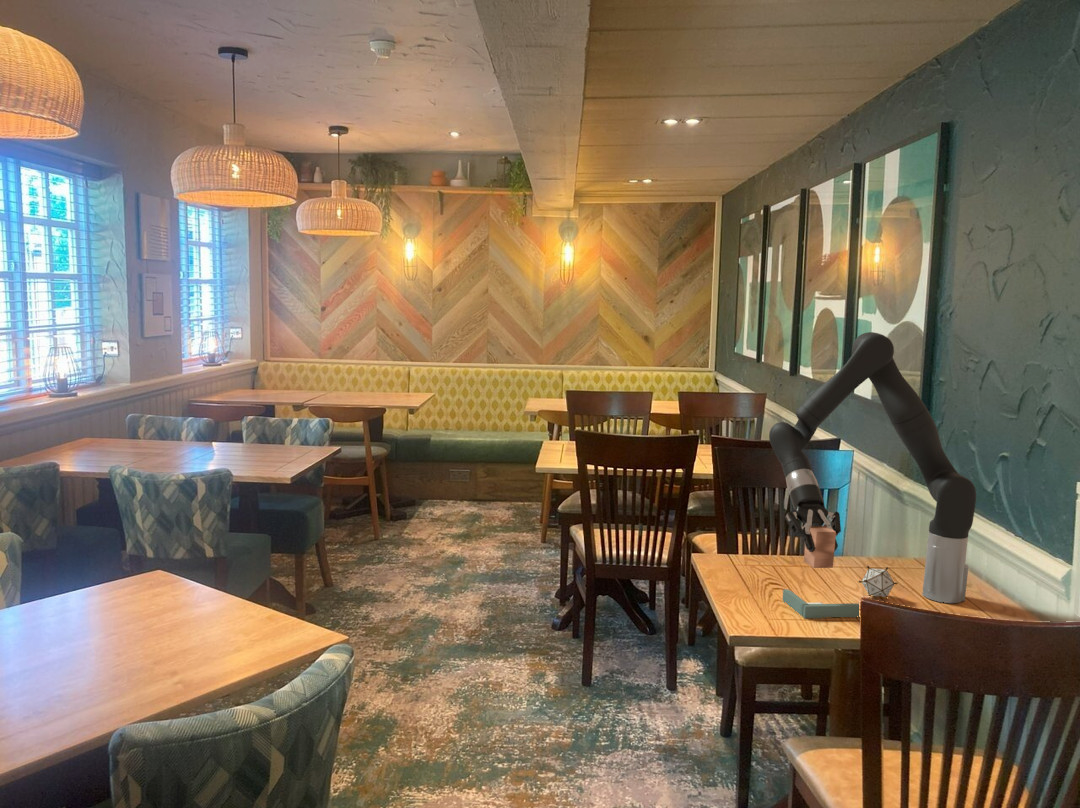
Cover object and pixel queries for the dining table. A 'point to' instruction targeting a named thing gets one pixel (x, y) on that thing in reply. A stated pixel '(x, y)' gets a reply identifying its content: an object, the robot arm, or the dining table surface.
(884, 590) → the game die
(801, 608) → the wall
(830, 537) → the terracotta block
